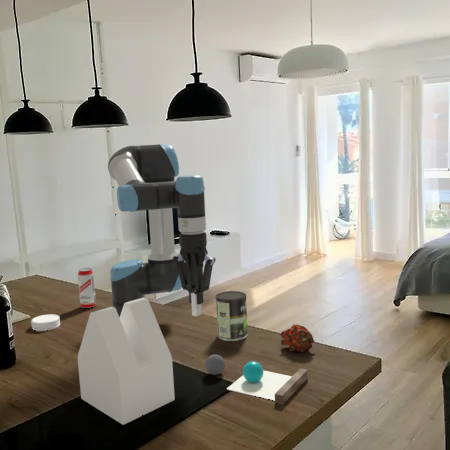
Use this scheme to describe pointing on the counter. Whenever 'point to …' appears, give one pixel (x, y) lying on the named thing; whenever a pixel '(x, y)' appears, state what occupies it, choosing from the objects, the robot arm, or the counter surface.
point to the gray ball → (215, 364)
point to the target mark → (261, 385)
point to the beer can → (86, 288)
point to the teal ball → (253, 372)
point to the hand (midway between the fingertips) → (197, 314)
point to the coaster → (45, 322)
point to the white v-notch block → (125, 362)
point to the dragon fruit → (297, 338)
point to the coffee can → (231, 315)
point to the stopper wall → (291, 386)
